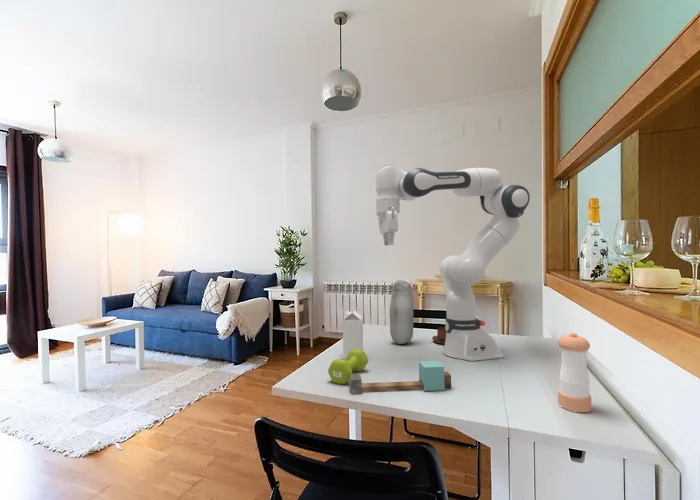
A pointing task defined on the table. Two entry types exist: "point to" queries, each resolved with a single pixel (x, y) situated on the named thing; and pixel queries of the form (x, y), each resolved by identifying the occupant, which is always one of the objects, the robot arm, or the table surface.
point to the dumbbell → (347, 366)
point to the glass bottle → (401, 313)
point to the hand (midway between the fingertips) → (388, 245)
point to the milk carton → (352, 332)
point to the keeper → (431, 375)
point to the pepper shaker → (574, 374)
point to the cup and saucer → (440, 335)
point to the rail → (390, 385)
